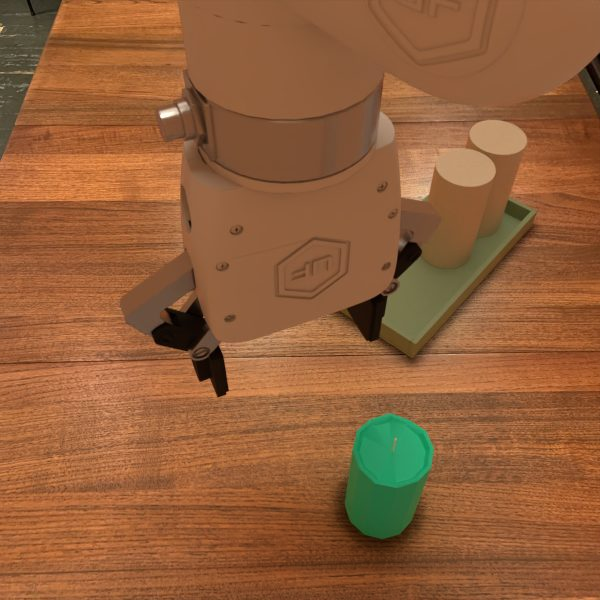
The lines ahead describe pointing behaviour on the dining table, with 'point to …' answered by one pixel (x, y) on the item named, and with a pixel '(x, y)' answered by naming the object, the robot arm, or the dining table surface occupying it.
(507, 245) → the tray
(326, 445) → the dining table surface
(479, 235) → the cream candle
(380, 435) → the candle
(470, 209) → the cream candle
